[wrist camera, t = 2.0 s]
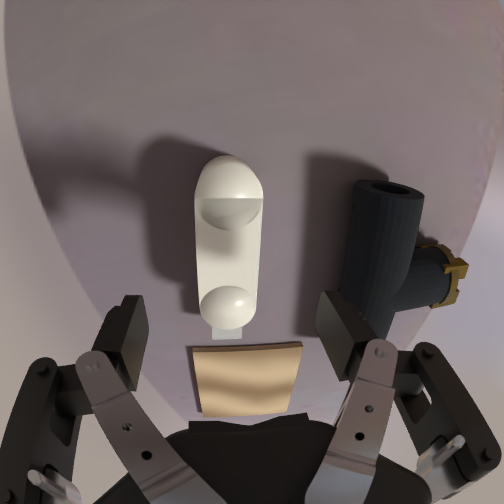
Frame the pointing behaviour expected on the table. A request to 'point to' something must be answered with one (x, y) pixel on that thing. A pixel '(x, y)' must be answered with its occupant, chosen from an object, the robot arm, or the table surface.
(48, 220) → the table surface
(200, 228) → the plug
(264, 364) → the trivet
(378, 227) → the pipe connector
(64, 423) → the robot arm
